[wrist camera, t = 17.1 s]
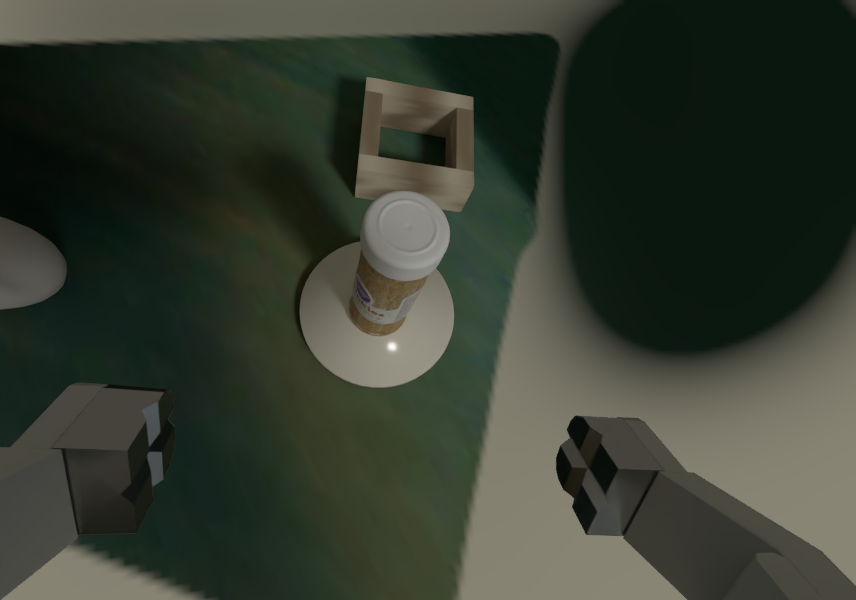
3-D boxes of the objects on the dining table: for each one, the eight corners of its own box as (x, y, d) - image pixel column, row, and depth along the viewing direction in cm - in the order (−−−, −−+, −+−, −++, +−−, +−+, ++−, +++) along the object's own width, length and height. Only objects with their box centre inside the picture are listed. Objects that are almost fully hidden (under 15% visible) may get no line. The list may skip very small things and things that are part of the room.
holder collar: (354, 197, 39) (357, 169, 35) (363, 110, 42) (366, 76, 38) (460, 212, 41) (474, 187, 37) (460, 127, 44) (473, 97, 40)
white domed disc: (290, 383, 32) (289, 381, 32) (310, 236, 37) (309, 231, 36) (450, 393, 35) (453, 391, 34) (452, 253, 39) (454, 249, 38)
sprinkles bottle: (336, 309, 34) (343, 221, 22) (377, 272, 36) (405, 171, 24) (379, 350, 34) (411, 285, 22) (419, 310, 36) (469, 229, 23)
